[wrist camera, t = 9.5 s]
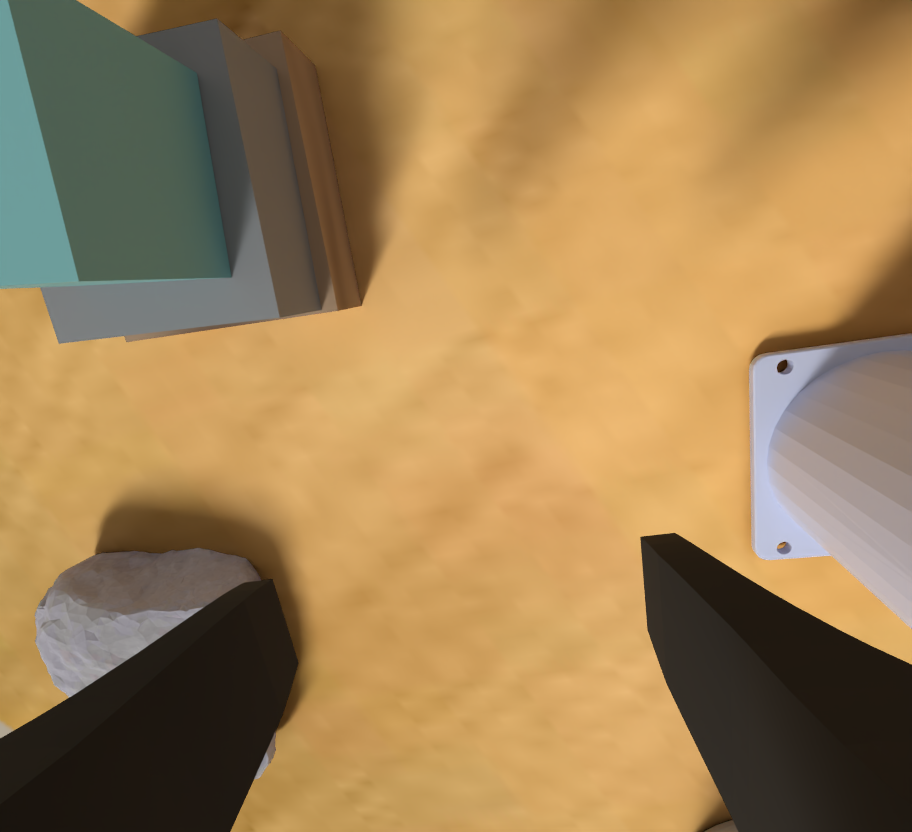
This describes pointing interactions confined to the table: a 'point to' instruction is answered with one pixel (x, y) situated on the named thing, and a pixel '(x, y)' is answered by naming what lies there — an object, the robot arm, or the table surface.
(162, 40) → the grey block
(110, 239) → the teal cube
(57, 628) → the stone block
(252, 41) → the walnut slab
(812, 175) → the table surface
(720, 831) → the cupcake
